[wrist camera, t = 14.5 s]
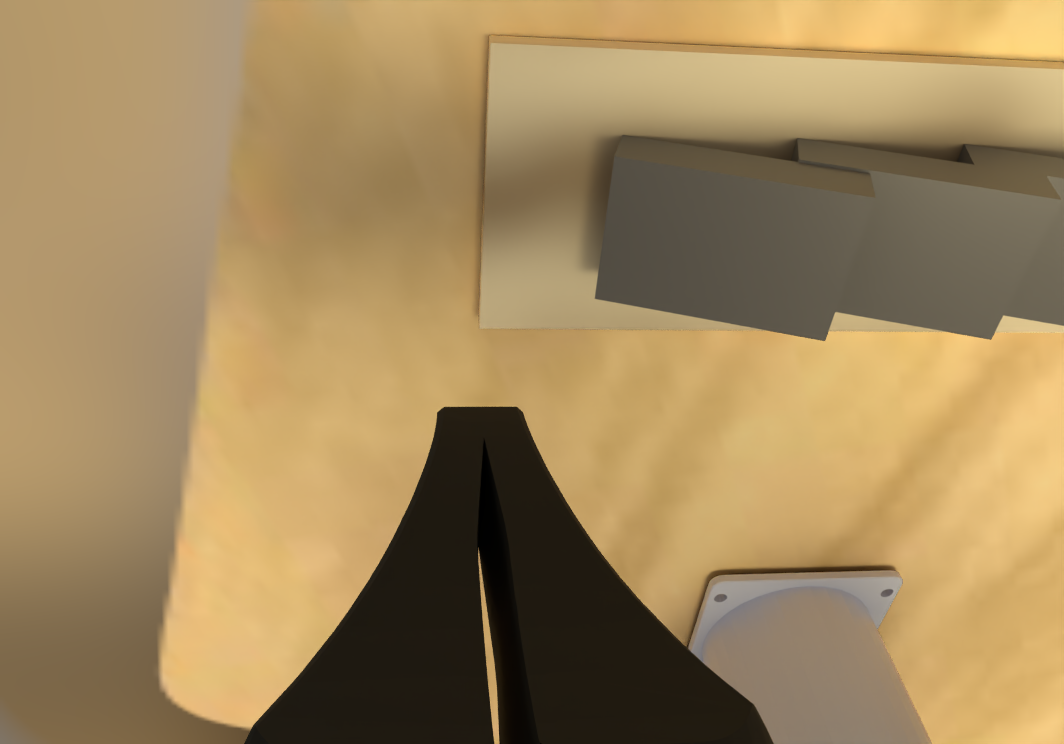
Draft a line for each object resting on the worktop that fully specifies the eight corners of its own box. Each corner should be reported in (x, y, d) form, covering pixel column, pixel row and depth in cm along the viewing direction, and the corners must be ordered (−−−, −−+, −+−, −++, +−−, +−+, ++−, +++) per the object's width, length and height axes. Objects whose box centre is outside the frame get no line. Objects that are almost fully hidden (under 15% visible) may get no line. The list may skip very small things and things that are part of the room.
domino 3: (910, 275, 24) (1131, 312, 23) (917, 300, 23) (1149, 340, 22) (964, 143, 22) (1212, 180, 21) (974, 164, 21) (1237, 204, 20)
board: (1323, 324, 28) (1338, 334, 27) (478, 316, 24) (479, 328, 24) (1514, 83, 23) (1537, 91, 22) (489, 35, 20) (490, 43, 19)
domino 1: (603, 272, 23) (822, 311, 22) (594, 298, 22) (825, 341, 21) (622, 134, 21) (869, 173, 20) (614, 156, 20) (875, 197, 19)
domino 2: (759, 273, 24) (980, 311, 23) (759, 298, 23) (990, 339, 22) (797, 138, 21) (1045, 175, 20) (798, 159, 20) (1061, 199, 19)
